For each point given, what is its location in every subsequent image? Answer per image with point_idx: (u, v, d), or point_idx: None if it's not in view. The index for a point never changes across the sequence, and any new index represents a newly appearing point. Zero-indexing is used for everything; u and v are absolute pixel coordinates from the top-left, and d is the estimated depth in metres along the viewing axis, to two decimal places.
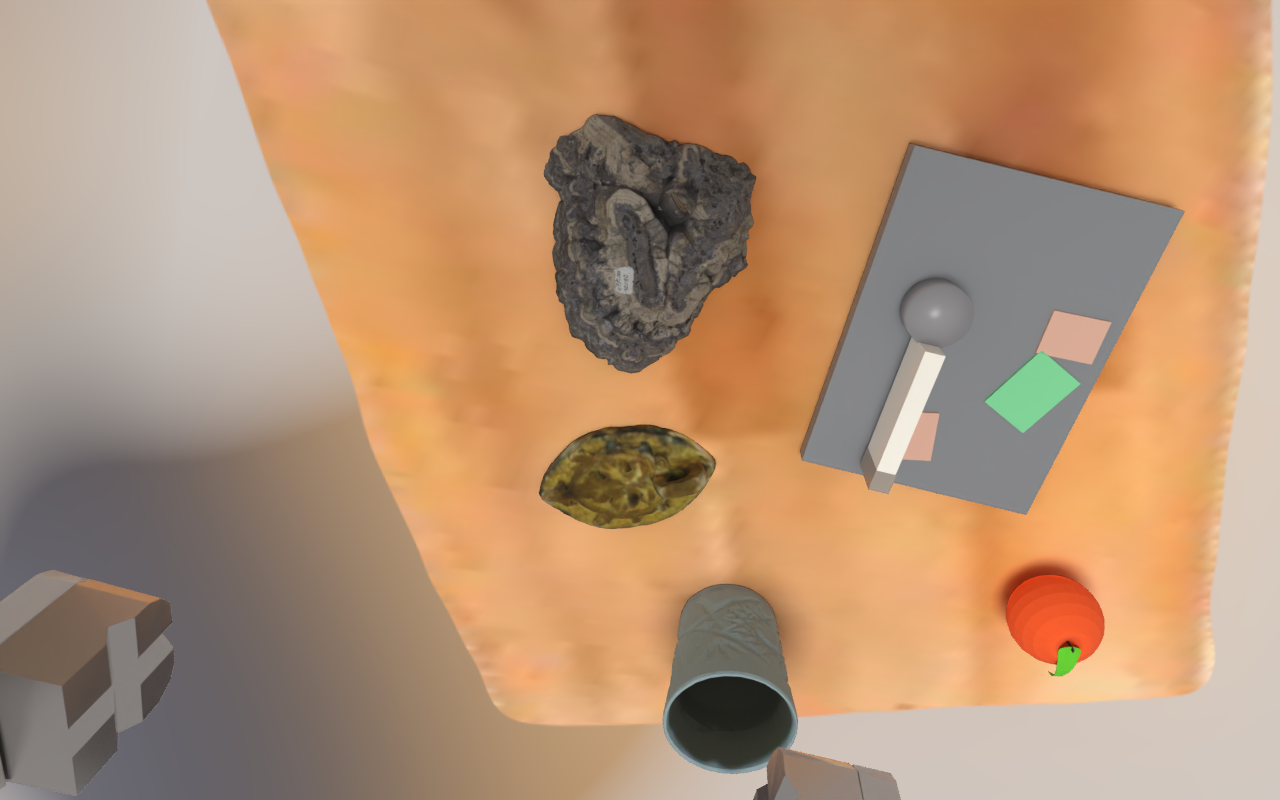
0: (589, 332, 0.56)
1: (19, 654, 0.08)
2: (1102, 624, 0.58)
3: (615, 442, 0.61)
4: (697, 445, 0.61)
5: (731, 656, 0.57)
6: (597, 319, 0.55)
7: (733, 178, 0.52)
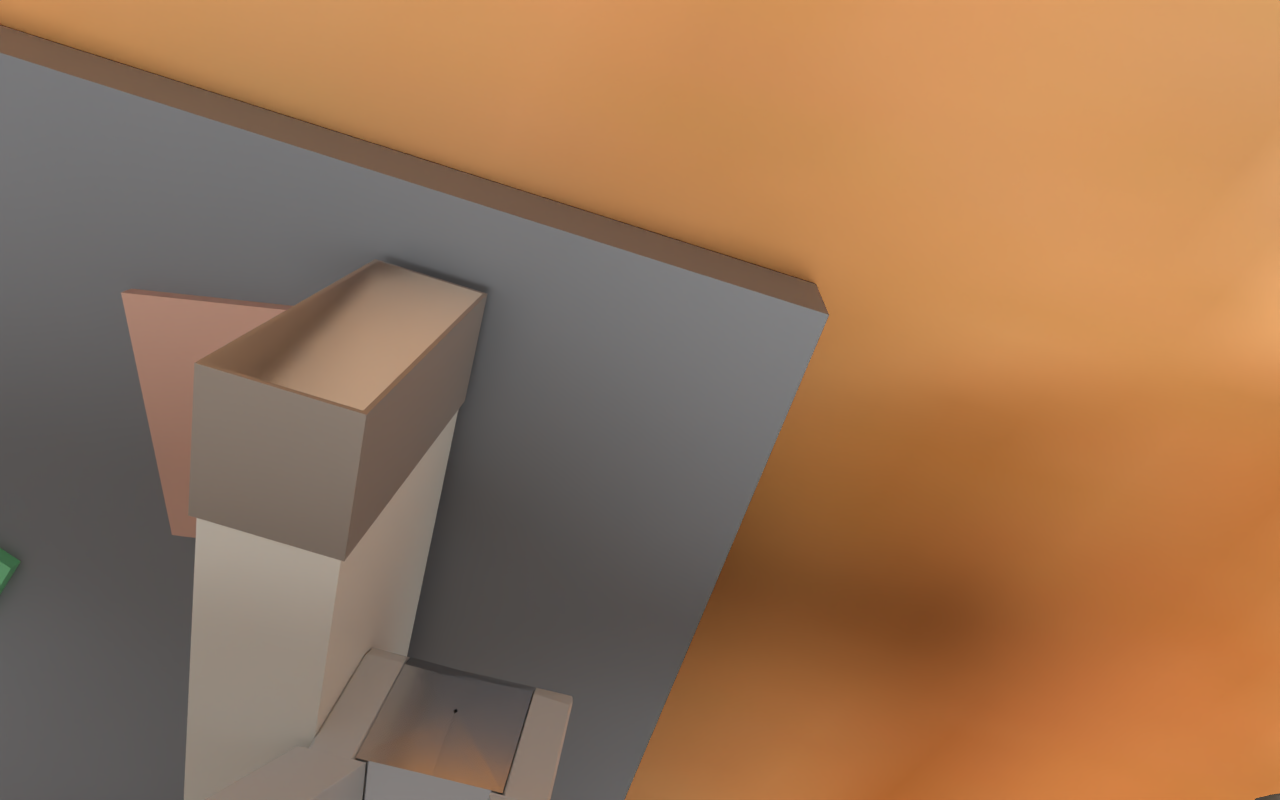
0: None
1: (388, 744, 0.08)
2: None
3: None
4: None
5: None
6: None
7: None
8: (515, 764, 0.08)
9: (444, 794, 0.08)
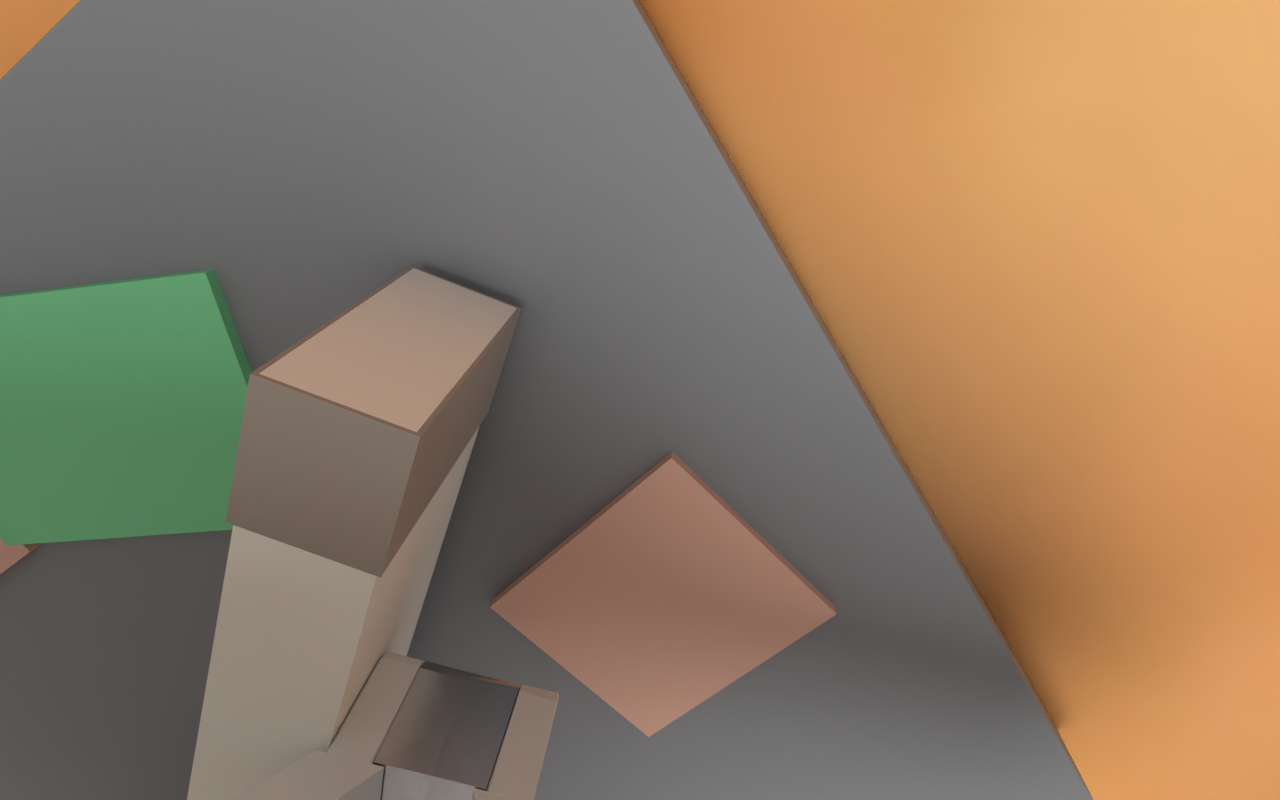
0: None
1: (406, 748, 0.08)
2: None
3: None
4: None
5: None
6: None
7: None
8: (499, 760, 0.08)
9: (428, 790, 0.08)
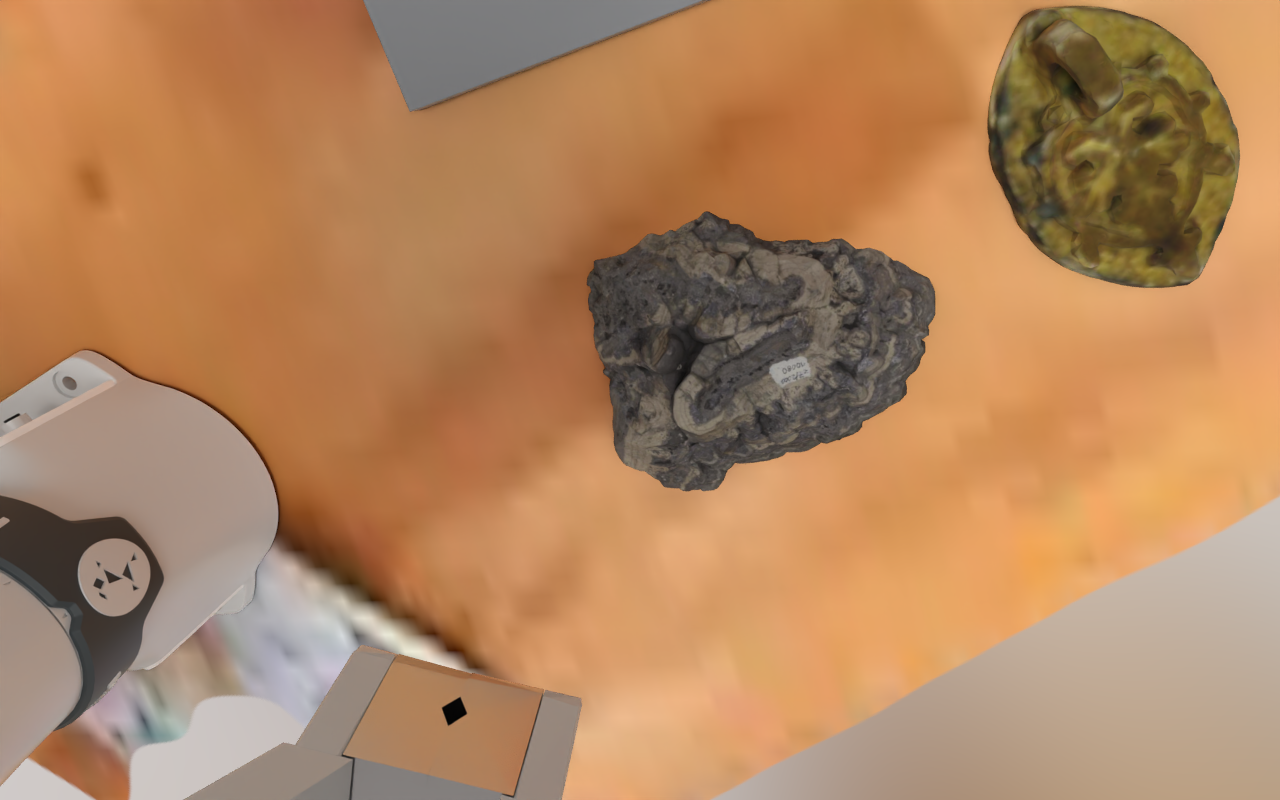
0: (886, 381, 0.38)
1: (375, 742, 0.08)
2: None
3: (1039, 206, 0.35)
4: (1002, 64, 0.34)
5: None
6: (861, 382, 0.38)
7: (605, 294, 0.39)
8: (525, 767, 0.08)
9: (454, 797, 0.08)
